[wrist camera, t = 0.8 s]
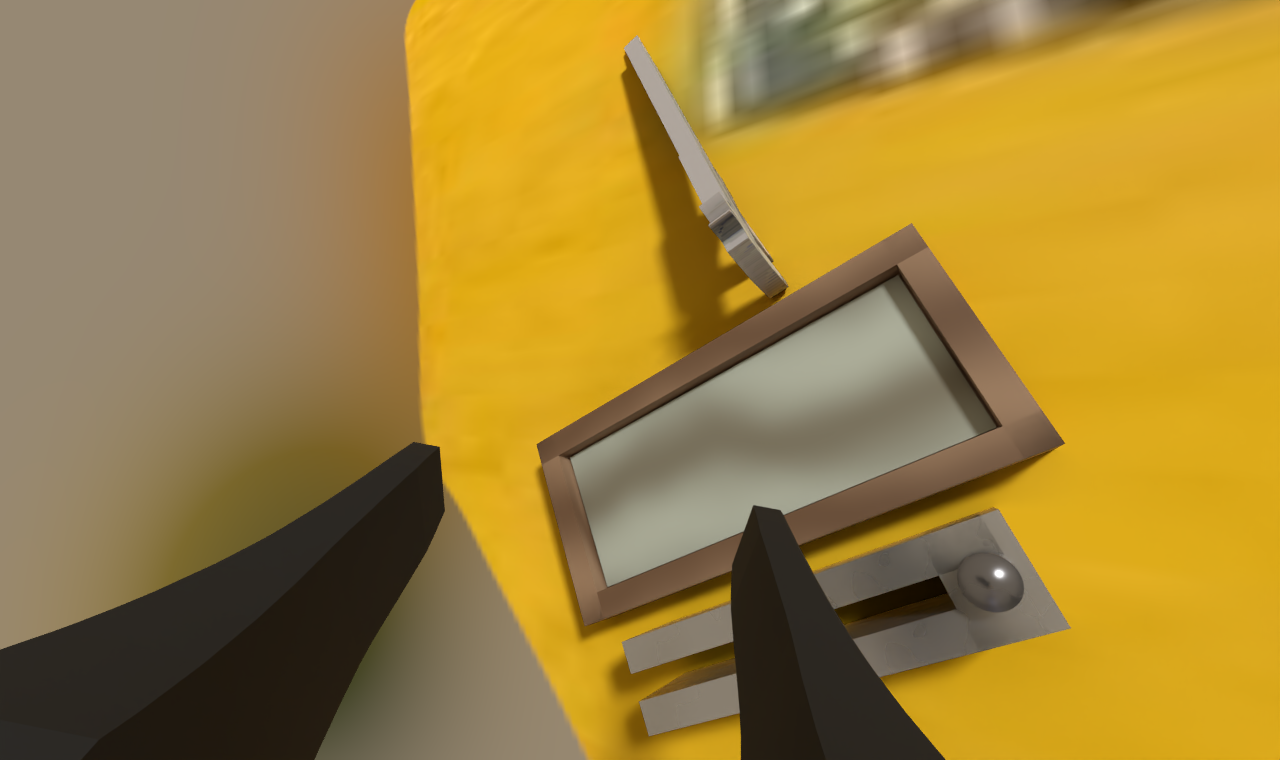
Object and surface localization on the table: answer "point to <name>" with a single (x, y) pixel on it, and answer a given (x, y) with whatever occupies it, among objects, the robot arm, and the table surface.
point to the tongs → (891, 641)
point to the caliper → (707, 179)
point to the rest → (789, 429)
